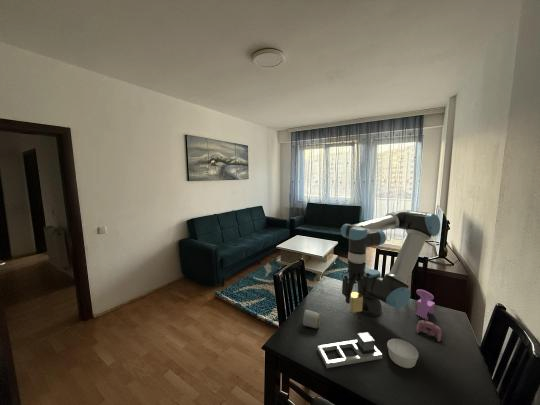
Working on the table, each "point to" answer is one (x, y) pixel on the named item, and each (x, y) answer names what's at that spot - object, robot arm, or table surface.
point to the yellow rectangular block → (356, 302)
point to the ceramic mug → (311, 319)
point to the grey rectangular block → (365, 343)
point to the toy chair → (424, 303)
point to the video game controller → (426, 324)
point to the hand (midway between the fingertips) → (354, 308)
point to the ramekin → (402, 353)
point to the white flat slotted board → (344, 359)
